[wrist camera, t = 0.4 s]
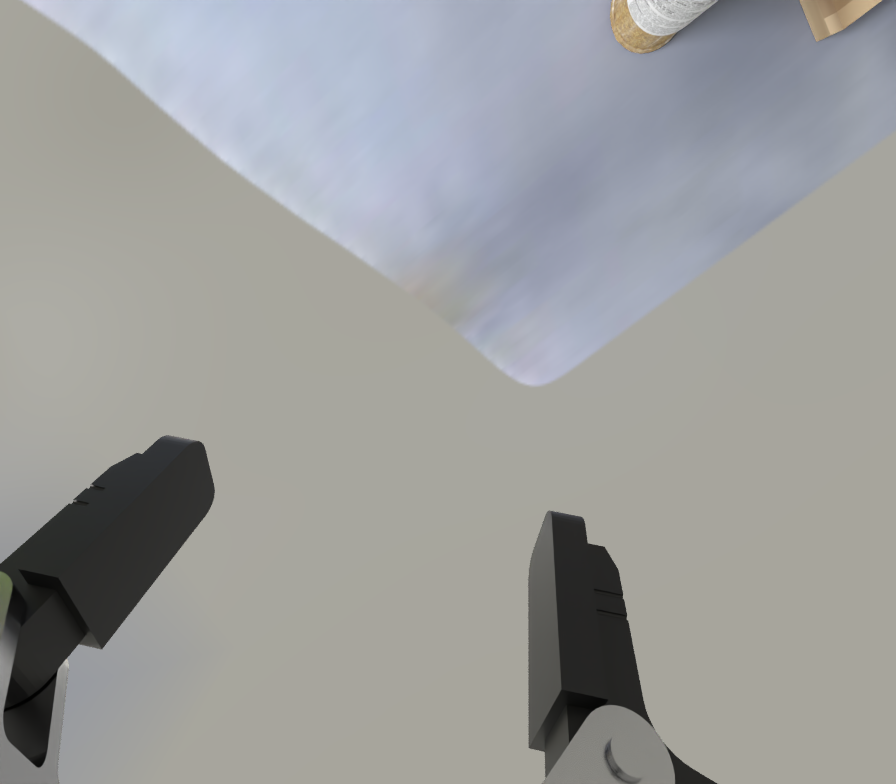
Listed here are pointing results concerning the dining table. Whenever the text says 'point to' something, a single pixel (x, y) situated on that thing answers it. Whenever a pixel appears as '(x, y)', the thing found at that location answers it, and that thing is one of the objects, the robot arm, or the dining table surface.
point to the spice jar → (652, 21)
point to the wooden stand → (833, 14)
